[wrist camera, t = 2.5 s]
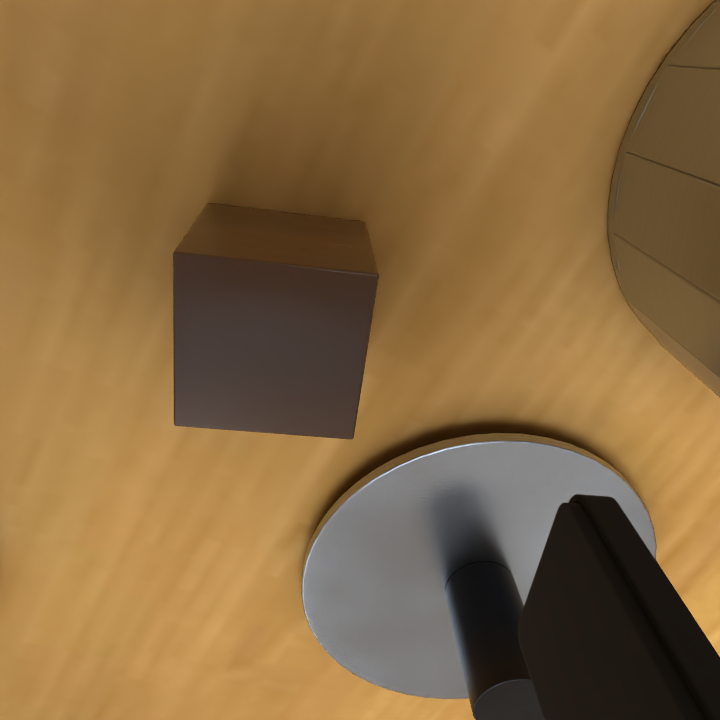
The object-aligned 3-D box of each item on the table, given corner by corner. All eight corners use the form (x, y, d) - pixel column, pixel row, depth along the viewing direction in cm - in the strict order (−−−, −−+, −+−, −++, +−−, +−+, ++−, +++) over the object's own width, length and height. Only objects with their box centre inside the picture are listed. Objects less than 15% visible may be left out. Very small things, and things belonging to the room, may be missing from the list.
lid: (321, 406, 20) (322, 529, 15) (696, 437, 21) (812, 559, 16) (288, 670, 26) (281, 822, 21) (583, 680, 27) (643, 824, 22)
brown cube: (206, 202, 17) (172, 251, 13) (366, 221, 17) (379, 274, 13) (203, 346, 19) (173, 426, 15) (346, 359, 19) (353, 440, 15)
